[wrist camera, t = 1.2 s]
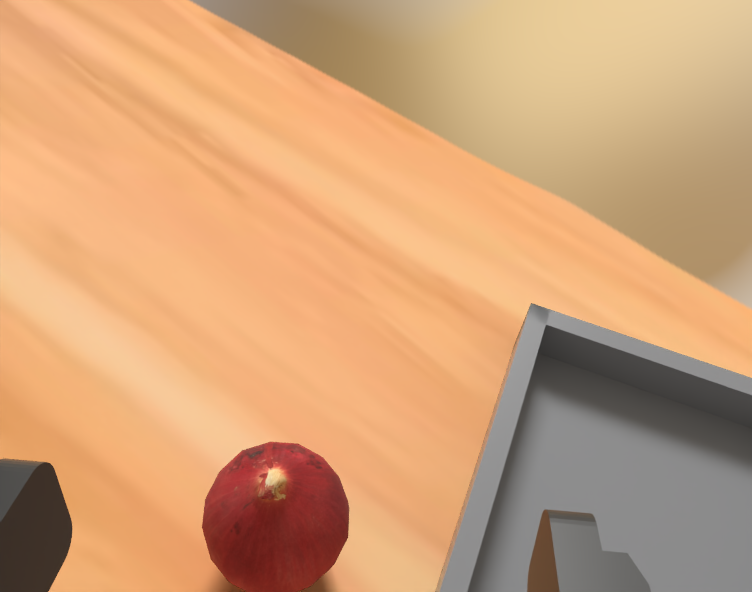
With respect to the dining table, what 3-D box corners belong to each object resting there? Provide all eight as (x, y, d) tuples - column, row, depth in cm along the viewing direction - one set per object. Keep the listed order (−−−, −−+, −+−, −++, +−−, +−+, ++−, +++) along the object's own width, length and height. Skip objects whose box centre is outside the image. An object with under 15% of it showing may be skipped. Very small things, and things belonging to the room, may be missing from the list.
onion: (200, 508, 32) (172, 427, 26) (321, 467, 34) (321, 382, 27) (233, 638, 29) (210, 583, 23) (364, 586, 31) (377, 521, 24)
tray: (405, 683, 28) (415, 666, 26) (515, 341, 39) (531, 303, 36) (818, 868, 26) (879, 872, 23) (816, 446, 36) (858, 414, 33)
